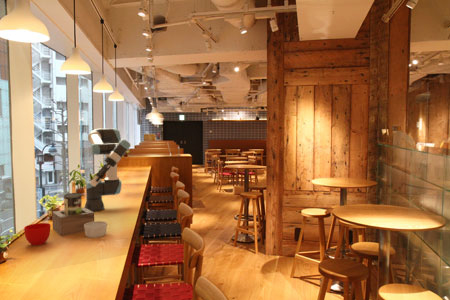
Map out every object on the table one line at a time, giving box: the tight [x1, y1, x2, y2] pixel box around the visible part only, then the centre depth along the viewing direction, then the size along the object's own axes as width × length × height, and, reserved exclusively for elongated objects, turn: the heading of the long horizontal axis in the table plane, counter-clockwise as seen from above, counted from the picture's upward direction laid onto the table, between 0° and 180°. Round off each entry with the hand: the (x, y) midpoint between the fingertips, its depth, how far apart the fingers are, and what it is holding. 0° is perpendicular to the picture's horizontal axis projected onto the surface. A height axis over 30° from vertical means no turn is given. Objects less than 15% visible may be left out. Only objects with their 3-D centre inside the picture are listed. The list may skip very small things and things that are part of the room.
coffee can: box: [63, 192, 83, 216], centre depth 223 cm, size 10×10×14 cm
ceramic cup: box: [23, 222, 52, 246], centre depth 198 cm, size 13×17×10 cm
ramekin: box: [84, 220, 108, 239], centre depth 212 cm, size 13×13×7 cm
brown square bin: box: [51, 206, 96, 237], centre depth 224 cm, size 20×20×12 cm
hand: (91, 185), depth 231 cm, fingers open, 13 cm apart
